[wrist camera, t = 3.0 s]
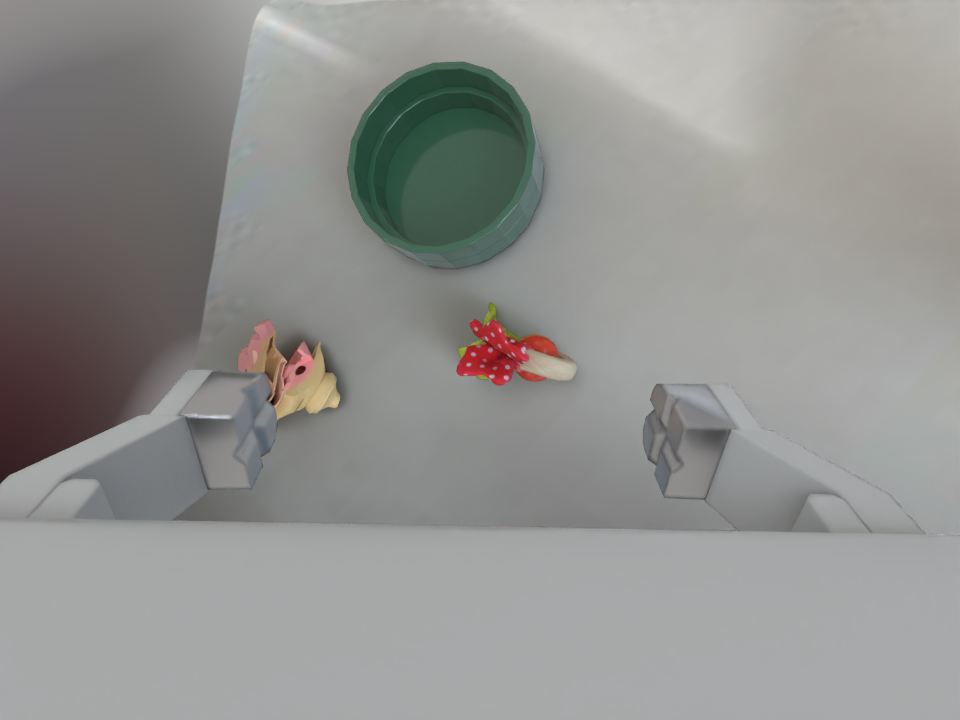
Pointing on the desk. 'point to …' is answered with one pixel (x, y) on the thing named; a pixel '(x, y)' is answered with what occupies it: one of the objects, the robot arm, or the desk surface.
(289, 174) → the desk surface
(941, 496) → the desk surface
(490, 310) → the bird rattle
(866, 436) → the desk surface
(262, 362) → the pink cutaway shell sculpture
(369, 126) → the bowl
